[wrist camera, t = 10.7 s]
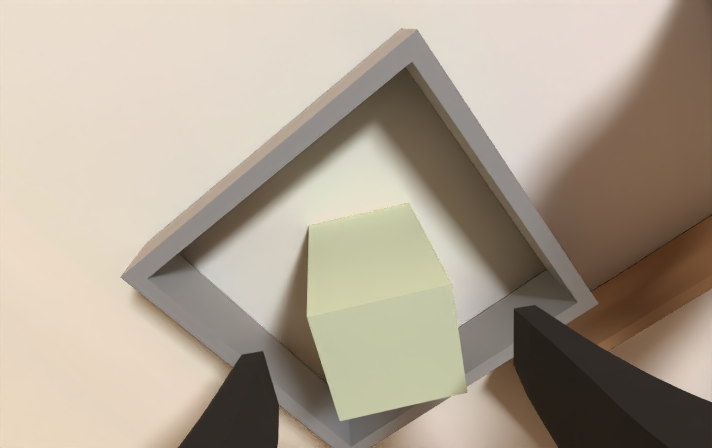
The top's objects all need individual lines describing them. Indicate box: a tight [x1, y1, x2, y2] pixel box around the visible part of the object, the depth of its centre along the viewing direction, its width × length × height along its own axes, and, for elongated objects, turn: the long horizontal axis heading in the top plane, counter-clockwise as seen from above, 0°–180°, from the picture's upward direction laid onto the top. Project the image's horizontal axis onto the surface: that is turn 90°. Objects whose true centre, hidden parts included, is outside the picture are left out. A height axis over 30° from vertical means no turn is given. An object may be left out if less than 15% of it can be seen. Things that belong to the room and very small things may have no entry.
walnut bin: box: [510, 215, 712, 367], centre depth 21 cm, size 12×12×2 cm
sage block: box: [307, 203, 467, 421], centre depth 16 cm, size 4×4×6 cm
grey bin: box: [121, 29, 599, 448], centre depth 17 cm, size 12×12×2 cm
